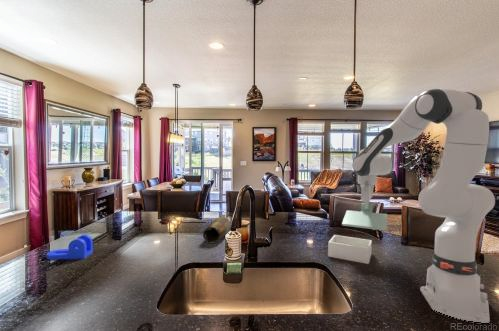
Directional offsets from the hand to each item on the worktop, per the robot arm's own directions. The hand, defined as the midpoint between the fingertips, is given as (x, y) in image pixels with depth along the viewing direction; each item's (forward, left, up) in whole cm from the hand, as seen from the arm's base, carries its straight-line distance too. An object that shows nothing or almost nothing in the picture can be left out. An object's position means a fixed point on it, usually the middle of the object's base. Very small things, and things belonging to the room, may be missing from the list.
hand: (366, 208), depth 136 cm
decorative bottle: (-9, +81, -23) cm, 85 cm away
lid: (-7, 0, -5) cm, 8 cm away
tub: (-9, +6, -22) cm, 25 cm away
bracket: (-78, +122, -23) cm, 146 cm away
